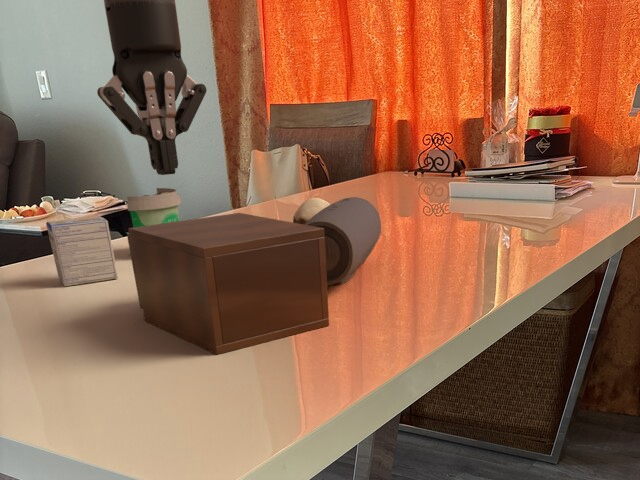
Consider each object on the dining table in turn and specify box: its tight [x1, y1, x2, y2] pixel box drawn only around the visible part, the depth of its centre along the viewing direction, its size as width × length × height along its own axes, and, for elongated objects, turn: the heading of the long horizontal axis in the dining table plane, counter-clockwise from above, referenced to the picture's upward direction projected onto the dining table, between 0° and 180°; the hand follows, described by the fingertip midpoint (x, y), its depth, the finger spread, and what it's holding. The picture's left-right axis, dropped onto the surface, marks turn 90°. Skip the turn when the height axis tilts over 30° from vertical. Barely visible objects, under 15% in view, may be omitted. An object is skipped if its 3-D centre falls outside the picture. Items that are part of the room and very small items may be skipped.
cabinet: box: [127, 212, 330, 355], centre depth 82 cm, size 18×15×11 cm
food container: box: [126, 187, 182, 228], centre depth 122 cm, size 12×6×10 cm, turn 170°
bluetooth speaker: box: [304, 196, 382, 286], centre depth 102 cm, size 23×9×10 cm, turn 169°
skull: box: [292, 197, 331, 225], centre depth 127 cm, size 12×10×10 cm
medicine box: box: [45, 215, 119, 287], centre depth 105 cm, size 8×4×9 cm, turn 121°
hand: (166, 173), depth 86 cm, fingers closed
